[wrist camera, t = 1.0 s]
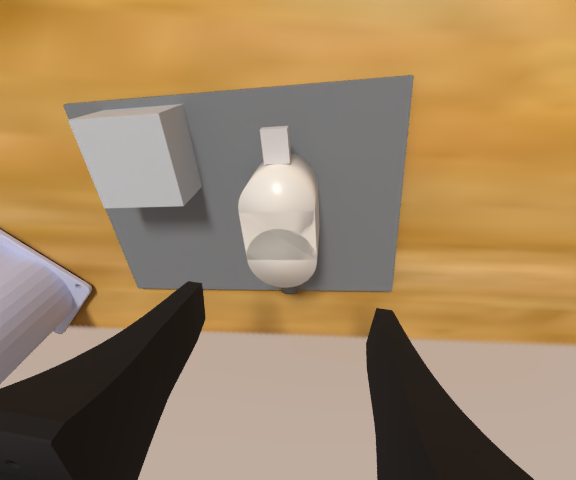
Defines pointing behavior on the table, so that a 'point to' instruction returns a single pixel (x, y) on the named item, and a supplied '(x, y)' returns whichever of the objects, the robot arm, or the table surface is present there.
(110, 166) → the block
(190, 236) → the mat
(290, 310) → the table surface
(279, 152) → the plug
